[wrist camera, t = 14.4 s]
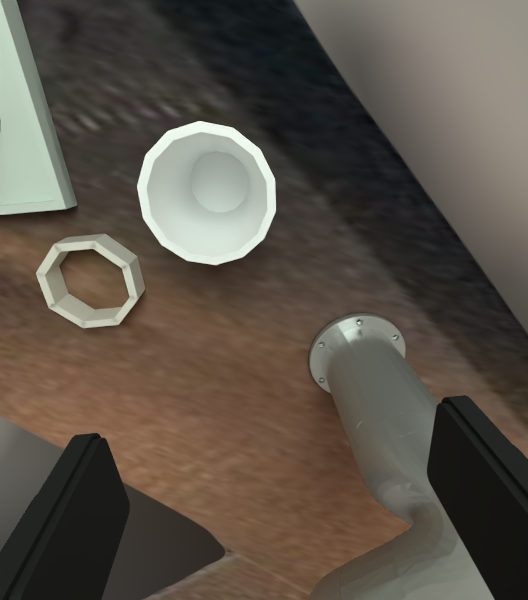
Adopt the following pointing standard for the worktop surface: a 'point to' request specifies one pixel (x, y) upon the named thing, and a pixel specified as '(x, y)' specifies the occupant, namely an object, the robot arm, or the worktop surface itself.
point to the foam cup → (207, 193)
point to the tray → (27, 128)
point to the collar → (72, 306)
